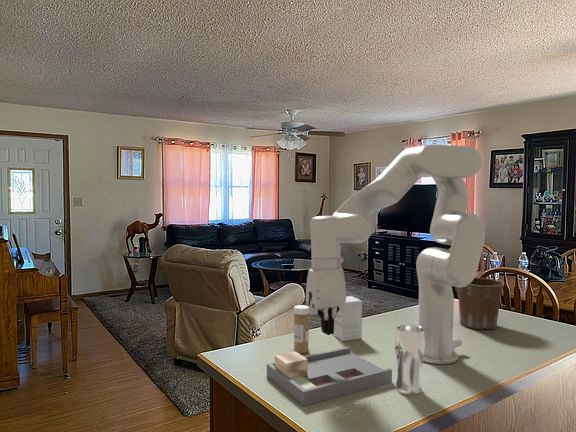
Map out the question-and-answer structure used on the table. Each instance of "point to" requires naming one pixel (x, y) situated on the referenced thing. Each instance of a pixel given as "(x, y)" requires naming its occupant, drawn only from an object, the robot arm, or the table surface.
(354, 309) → the supplement box
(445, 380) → the table surface
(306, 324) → the sprinkles bottle
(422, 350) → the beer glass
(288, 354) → the maple block
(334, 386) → the box
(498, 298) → the plant pot
